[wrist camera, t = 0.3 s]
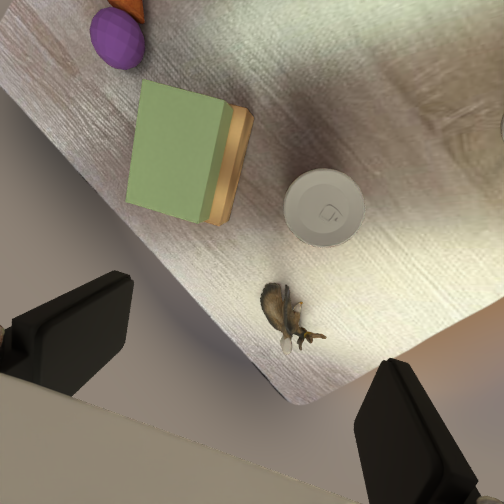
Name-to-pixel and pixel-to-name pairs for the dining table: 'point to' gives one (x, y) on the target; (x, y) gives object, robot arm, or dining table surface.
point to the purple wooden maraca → (119, 33)
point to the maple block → (231, 165)
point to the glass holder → (502, 128)
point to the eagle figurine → (284, 317)
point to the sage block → (177, 151)
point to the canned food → (324, 208)
